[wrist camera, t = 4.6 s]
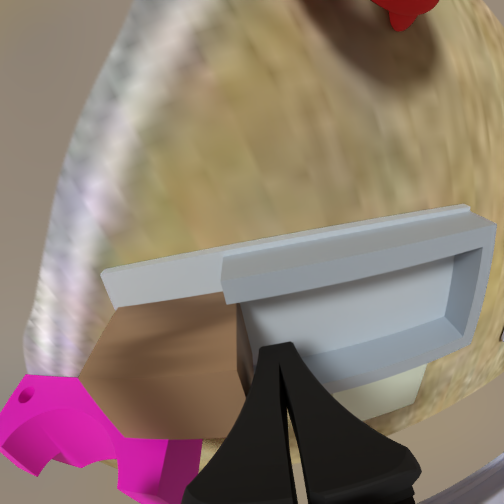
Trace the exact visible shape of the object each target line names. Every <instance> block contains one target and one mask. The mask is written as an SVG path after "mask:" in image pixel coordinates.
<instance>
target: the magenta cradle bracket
mask: <svg viewBox="0 0 504 504" xmlns="http://www.w3.org/2000/svg"><path fill="white" fill-rule="evenodd" d="M202 441H203V439H182V440H169V439H139V438H125V437H124V436H123V435H122V434H121V433H120V432H119V430H118V429H117V428H116V427H115V426H114V425H113V423H112V422H111V421H110V420H109V419H108V417H107V416H106V415H105V414H104V413H103V411H102V410H101V409H100V408H99V406H98V405H97V404H96V402H95V401H94V400H93V399H92V397H91V396H90V395H89V393H88V392H87V390H86V389H85V388H84V386H83V385H82V384H81V382H80V381H79V379H78V378H75V377H53V376H39V375H27V374H26V375H25V376H24V377H23V379H22V381H21V382H20V383H19V385H18V386H17V388H16V389H15V391H14V392H13V394H12V395H11V397H10V398H9V400H8V402H7V403H6V405H5V406H4V408H3V409H2V411H1V413H0V452H1V453H2V454H3V455H4V456H6V457H7V458H8V459H9V460H10V461H11V462H13V463H14V464H15V465H16V466H17V467H18V468H21V469H22V470H24V471H26V472H28V473H30V474H32V475H34V476H37V477H38V475H39V474H40V472H41V471H42V469H43V468H44V467H45V465H46V464H47V463H48V462H49V461H50V460H51V459H53V460H56V461H59V462H63V463H66V464H69V465H72V466H76V467H79V468H83V467H85V466H86V465H89V464H91V463H93V462H96V461H101V460H107V459H117V461H118V486H117V489H119V490H120V491H122V492H123V493H124V494H126V495H128V496H129V497H131V498H133V499H134V500H136V501H137V502H139V503H141V504H181V501H182V497H183V494H184V491H185V488H186V486H187V485H188V484H189V483H190V482H191V481H192V480H193V479H194V478H195V477H196V476H197V475H198V471H199V464H200V456H201V448H202Z"/></svg>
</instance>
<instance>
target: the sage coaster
mask: <svg viewBox="0 0 504 504" xmlns="http://www.w3.org/2000/svg"><path fill="white" fill-rule="evenodd" d="M426 365H427V363H426V364H424V365H421V366H419V367H416V368H413V369H411V370H408V371H405V372H403V373H400V374H397V375H394V376H391V377H388V378H385V379H382V380H379V381H376V382H372V383H369V384H366V385H362V386H359V387H355V388H352V389H348V390H344V391H340V392H336V393H332V394H331V395H332V396H333V397H334V398H335V399H336V400H337V401H338V402H339V403H340V404H341V405H342V406H343V407H345V408H346V409H347V410H348V411H349V412H351V413H352V414H353V415H354V416H356V417H357V418H358V419H360V420H361V421H364V420H368V419H371V418H374V417H377V416H380V415H383V414H386V413H389V412H392V411H394V410H397V409H400V408H403V407H405V406H408V405H410V404H413V403H414V401H415V399H416V396H417V393H418V390H419V387H420V384H421V381H422V378H423V375H424V372H425V369H426Z"/></svg>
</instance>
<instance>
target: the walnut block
mask: <svg viewBox="0 0 504 504" xmlns="http://www.w3.org/2000/svg"><path fill="white" fill-rule="evenodd" d="M253 377H254V369H253V355H252V350H251V346H250V342H249V338H248V334H247V330H246V326H245V322H244V318H243V314H242V310H241V306H240V303H234V304H228V305H227V304H226V301H225V297H224V293H223V291H221V292H215V293H209V294H203V295H197V296H191V297H185V298H178V299H172V300H165V301H159V302H152V303H145V304H138V305H131V306H124V307H118V308H117V310H116V311H115V313H114V315H113V316H112V318H111V320H110V321H109V323H108V325H107V327H106V328H105V330H104V332H103V333H102V335H101V337H100V339H99V340H98V342H97V344H96V346H95V347H94V349H93V351H92V353H91V354H90V356H89V358H88V360H87V362H86V364H85V365H84V367H83V369H82V371H81V373H80V375H79V377H78V379H79V381H80V382H81V384H82V385H83V386H84V388H85V389H86V390H87V392H88V393H89V395H90V396H91V397H92V399H93V400H94V401H95V402H96V404H97V405H98V406H99V408H100V409H101V410H102V411H103V413H104V414H105V415H106V416H107V417H108V419H109V420H110V421H111V422H112V423H113V425H114V426H115V427H116V428H117V429H118V430H119V432H120V433H121V434H122V435H123V436H124V437H125V438H139V439H169V440H182V439H211V438H226V437H227V436H228V434H229V432H230V431H231V429H232V427H233V425H234V424H235V422H236V420H237V418H238V416H239V414H240V412H241V409H242V407H243V405H244V403H245V400H246V397H247V395H248V392H249V390H250V387H251V384H252V380H253Z"/></svg>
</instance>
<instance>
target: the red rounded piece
mask: <svg viewBox="0 0 504 504" xmlns="http://www.w3.org/2000/svg"><path fill="white" fill-rule="evenodd" d="M371 1H372V2H374V3H375V4H377V5H379V6H380V7H382V8H384V9H386V10H388V11H389V18H390V23H391V26H392V28H393V29H394V30H395V31H404V30H405V29H407V28H408V27H409V26H410V25H411V24H412V23H413V22H414V20H415V19H416V18H417V16H418V15H420V14H424V13H426V12H428V11H430V10H431V9H433V8H434V7H435V6H436V5H437V3H438V2H439V0H371Z"/></svg>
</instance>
